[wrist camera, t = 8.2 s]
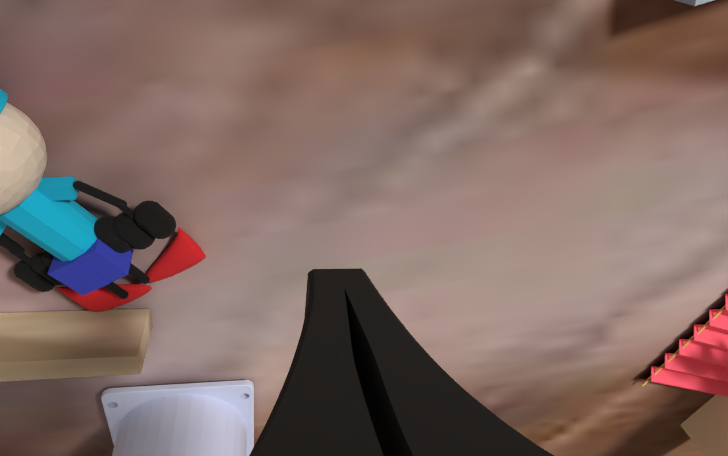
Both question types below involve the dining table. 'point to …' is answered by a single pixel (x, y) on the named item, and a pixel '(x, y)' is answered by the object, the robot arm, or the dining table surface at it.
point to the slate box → (694, 2)
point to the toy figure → (77, 226)
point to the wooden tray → (73, 343)
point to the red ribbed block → (702, 380)
